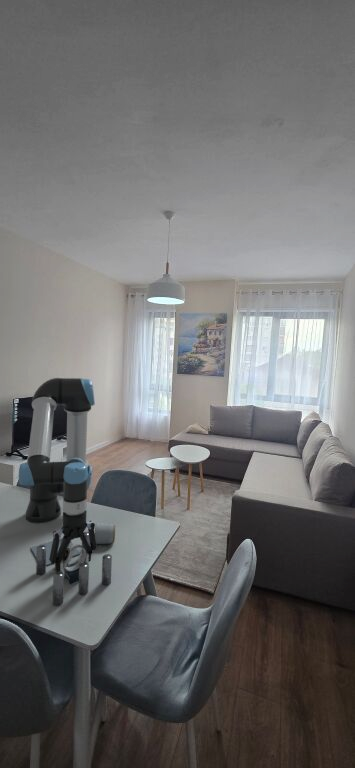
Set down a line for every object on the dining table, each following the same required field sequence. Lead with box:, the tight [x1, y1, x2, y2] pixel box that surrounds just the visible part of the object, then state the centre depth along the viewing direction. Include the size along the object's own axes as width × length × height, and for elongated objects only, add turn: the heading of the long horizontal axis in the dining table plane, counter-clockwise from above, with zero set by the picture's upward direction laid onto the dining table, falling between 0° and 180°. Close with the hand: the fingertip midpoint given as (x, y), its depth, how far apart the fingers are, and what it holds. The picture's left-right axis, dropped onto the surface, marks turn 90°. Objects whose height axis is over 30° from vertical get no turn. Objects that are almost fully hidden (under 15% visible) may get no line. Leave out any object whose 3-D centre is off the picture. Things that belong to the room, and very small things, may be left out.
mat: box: [30, 537, 81, 567], centre depth 127 cm, size 14×14×1 cm
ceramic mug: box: [94, 523, 116, 545], centre depth 137 cm, size 11×8×8 cm
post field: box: [35, 531, 113, 607], centre depth 113 cm, size 20×19×9 cm
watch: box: [62, 543, 86, 585], centre depth 113 cm, size 6×8×11 cm
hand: (73, 575), depth 113 cm, fingers closed on watch, 8 cm apart
